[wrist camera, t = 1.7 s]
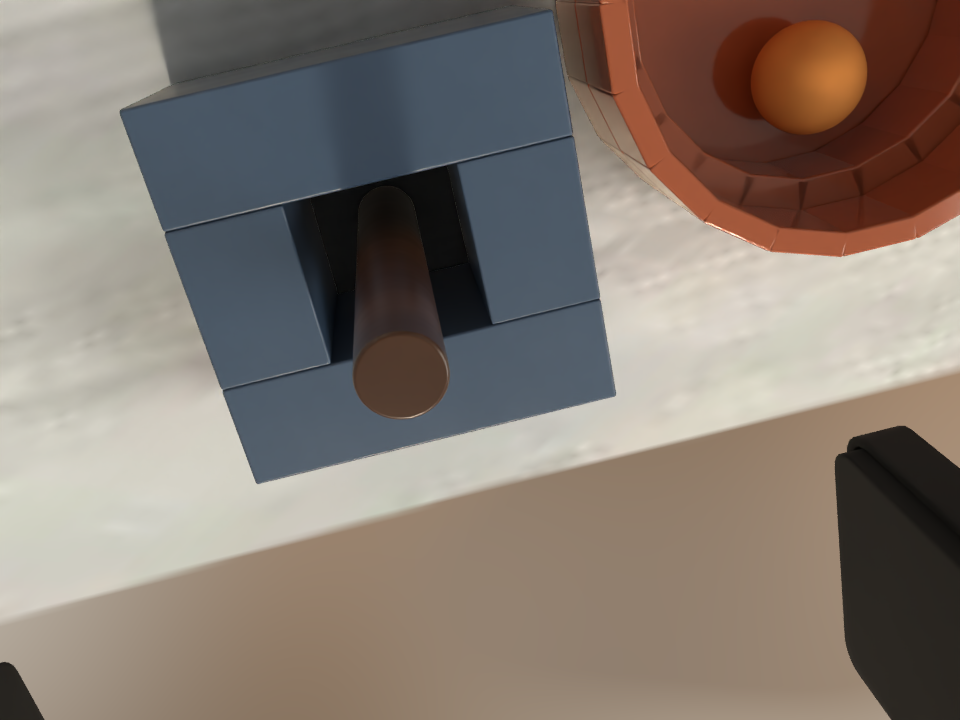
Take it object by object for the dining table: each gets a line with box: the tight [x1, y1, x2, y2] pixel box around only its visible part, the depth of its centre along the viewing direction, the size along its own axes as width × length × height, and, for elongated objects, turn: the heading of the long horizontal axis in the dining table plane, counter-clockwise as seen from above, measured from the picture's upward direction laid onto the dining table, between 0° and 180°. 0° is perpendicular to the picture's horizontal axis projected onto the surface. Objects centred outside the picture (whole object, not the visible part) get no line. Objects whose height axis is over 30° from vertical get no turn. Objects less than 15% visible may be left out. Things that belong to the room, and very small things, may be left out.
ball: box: [751, 20, 867, 135], centre depth 26 cm, size 3×3×3 cm
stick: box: [352, 186, 450, 420], centre depth 22 cm, size 2×2×13 cm
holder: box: [120, 5, 616, 484], centre depth 25 cm, size 10×10×6 cm
